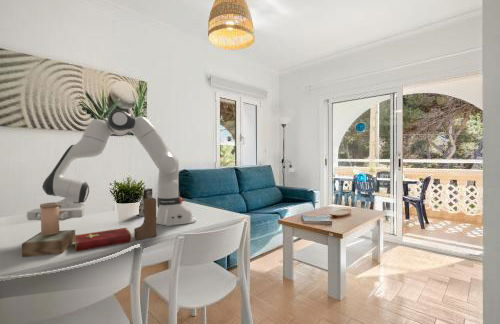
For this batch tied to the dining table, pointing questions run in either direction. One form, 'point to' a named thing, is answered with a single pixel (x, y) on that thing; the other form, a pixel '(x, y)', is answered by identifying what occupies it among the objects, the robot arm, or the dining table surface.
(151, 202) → the wooden block
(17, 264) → the dining table surface
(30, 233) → the dining table surface
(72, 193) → the robot arm
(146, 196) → the coffee box
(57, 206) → the terracotta jar
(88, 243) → the hardcover book
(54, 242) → the walnut pedestal
